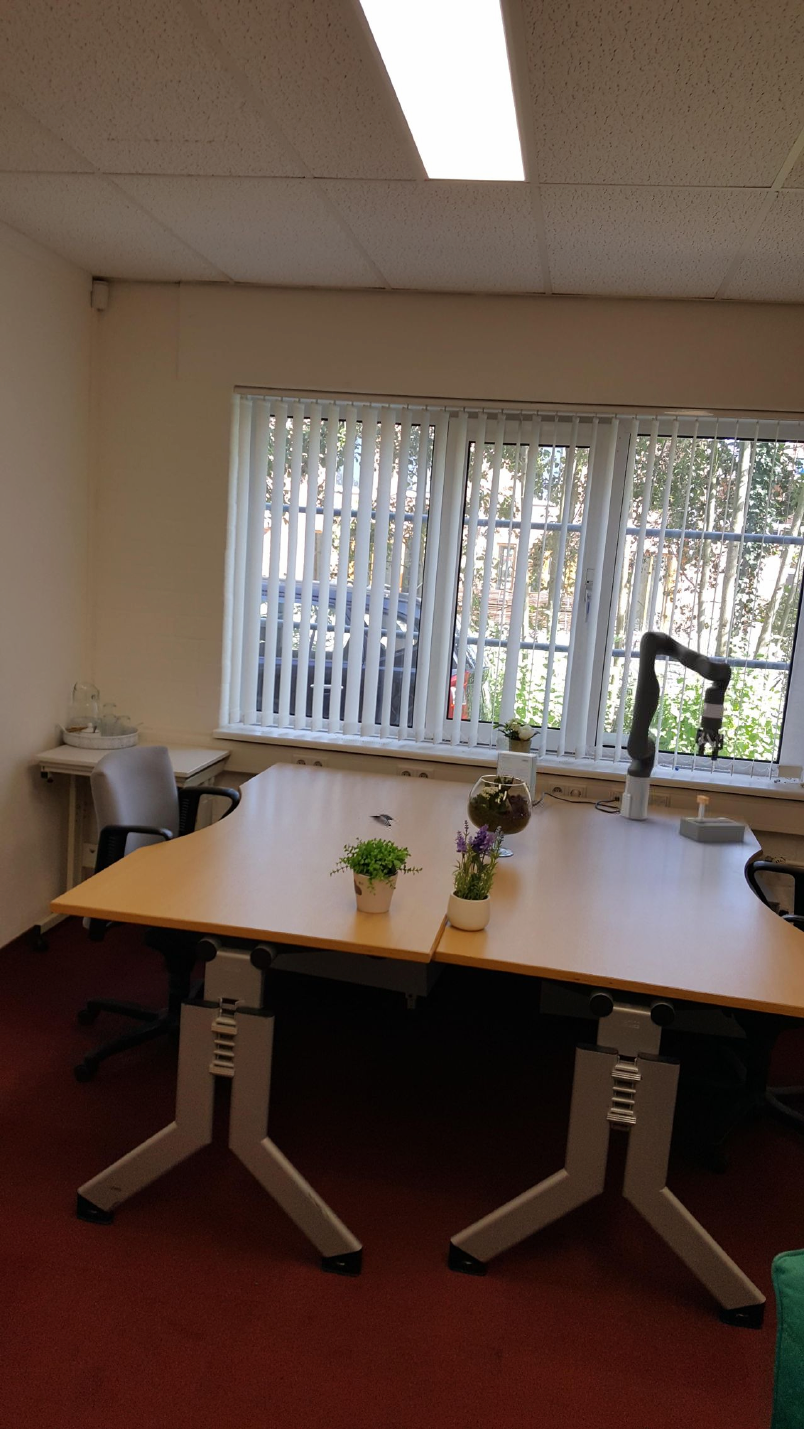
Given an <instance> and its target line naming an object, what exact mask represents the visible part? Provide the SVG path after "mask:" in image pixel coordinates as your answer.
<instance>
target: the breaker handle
mask: <svg viewBox="0 0 804 1429" xmlns="http://www.w3.org/2000/svg"><path fill="white" fill-rule="evenodd" d="M709 801H710V798H709V797H708V796H705V795H697V798H696V803H698V804H699V806H698V807H699V808H698V816H697V817H694V818H695V821H697V822H706V819H704V818H705V809H706V808H705V807H706V805H709Z"/></svg>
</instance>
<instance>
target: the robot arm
mask: <svg viewBox="0 0 804 1429" xmlns="http://www.w3.org/2000/svg"><path fill="white" fill-rule="evenodd" d="M657 656H666V657H671V658H673V659H674V660H676V661H678V662H679V664H681V665H682V666H683V667H685V668H687V669H688V670H691V671H694V672H696V673H697V674H698V675H700V676H701V677H702V678H703V679H705V680H707V681H711V682H712V685H710V686H709V687H707V688H705V689H706V690H705V693H704V700H703V705H702V710H701V717H700V718H701V720H700V728H699V727H698V728H697V729H696V734H695V735H696V736H695V742H694V743H695V744H696V745H697V747H698V751H697V756H698V757H701V758H702V757H704V756H705V748H706V745H707V744H709V746H710V747H711V749H712V750H711V754H710V760H711V761H712V762H713V761H714V762H717V761H718V757H719V752H720V751H723V750H724V739H725V734H724V733H719V732H720V731H719V730H722V728H723V720H724V711H725V710H724V708H725V706H724V704H725V697H726V692H727V690H728V687H729V684H730V682H731V679H732V673H733V672H732V668H731V666H730V664H729V663H727V662H723V661H720V662H719V661H712V660H710V658H709V657H708V656H707V655H704V654H703V653H700V652H699V651H696V650H693V649H692V648H690V647H687V646H685V645H683V644H681V642H679V641H677V640H676V639H675V638H673V637H671V636H670V635H669V634H667V633H666V632H663V631H655V630H653V631H651V630H649V631H646V632H644V633H643V634H642V636H641V637H640V642H639V656H638V657H639V658H638V659H639V661H638V674H637V681H636V682H637V683H636V689H635V696H634V704H633V712H632V713H633V714H632V720H631V721H632V722H631V728H630V731H629V736H628V739H627V743H626V744H627V745H626V751H627V754H628V756H629V757H630V759H631V763H630V764H629V766H628V767H627V770H626V780H625V788H624V790H625V791H624V792H623V793H622V796H621V798H622V799H621V807H620V816H621V817H623V818H626V819H627V820H630V819H631V820H635V821H636V820H638V821H639V820H640V821H641V820H646V819H647V814H648V813H647V811H648V802H649V793H650V785H651V784H650V783H651V775H652V771H653V769H654V764H655V757H656V749H657V748H656V742H655V741H654V739H653V738H652V737H650V736H649V732H650V727H651V723H652V721H653V719H654V716H655V714H656V712H657V709H658V706H659V701H660V693H661V686H660V684H659V680H658V676H657V674H656V669H655V666H656V664H655V663H656V657H657Z"/></svg>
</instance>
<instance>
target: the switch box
mask: <svg viewBox="0 0 804 1429" xmlns="http://www.w3.org/2000/svg"><path fill="white" fill-rule="evenodd" d="M695 818H696V817H681V818H680V823H679V831H678V832H679V834H680V835H681V836H682V835H683V836H685V837H686V838H688V839H690V840H693V841H695V842H698V843H699V842H700V843H701V842H704V843H705V842H710V843H711V842H712V843H713V842H715V843H716V842H717V843H718V842H722V843H723V842H744V840H745V839H744V838H745V830H746V825H744V824H742V823H740V822H737V821H734V820H732V819H729V818H727V817H704V819H706V822H697V821H695Z"/></svg>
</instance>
